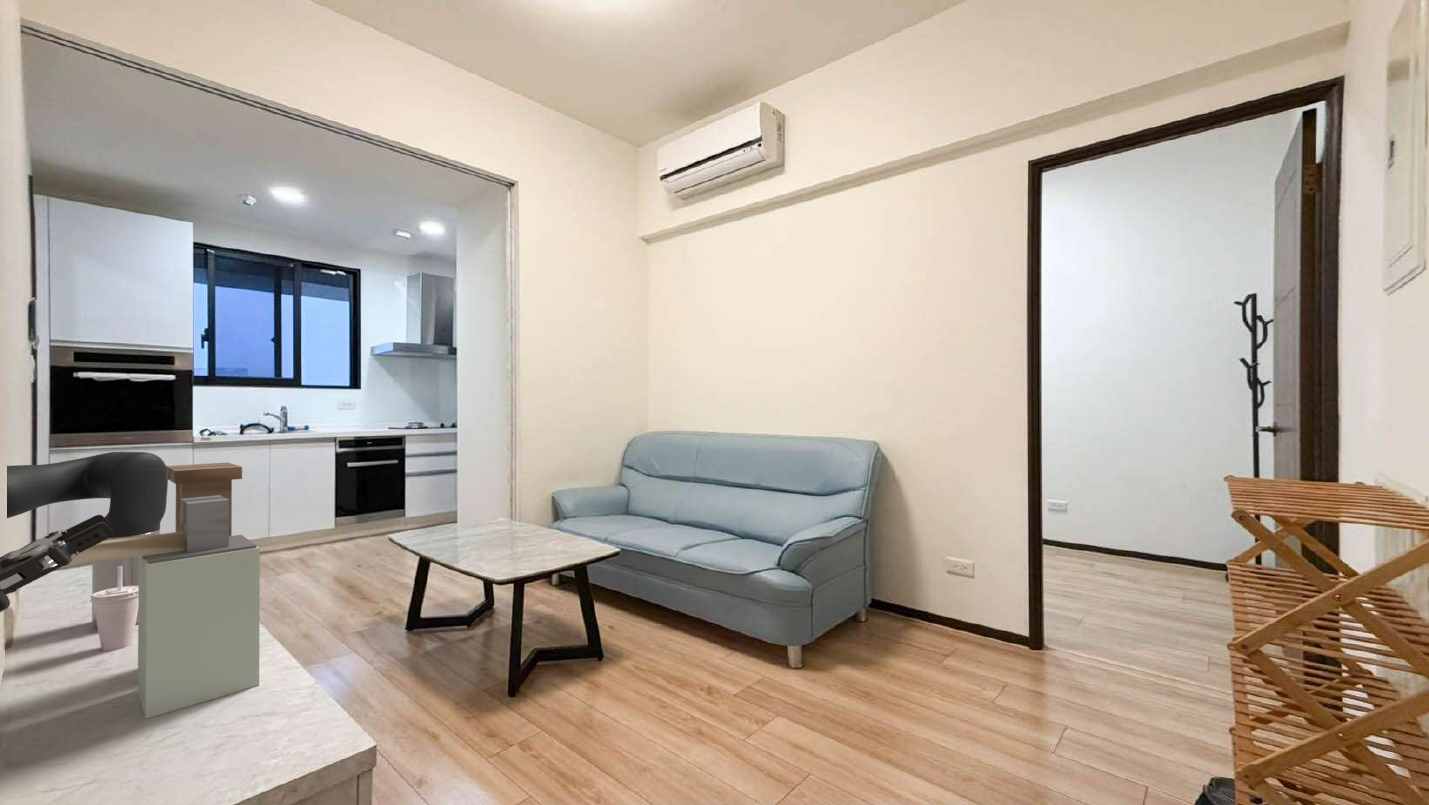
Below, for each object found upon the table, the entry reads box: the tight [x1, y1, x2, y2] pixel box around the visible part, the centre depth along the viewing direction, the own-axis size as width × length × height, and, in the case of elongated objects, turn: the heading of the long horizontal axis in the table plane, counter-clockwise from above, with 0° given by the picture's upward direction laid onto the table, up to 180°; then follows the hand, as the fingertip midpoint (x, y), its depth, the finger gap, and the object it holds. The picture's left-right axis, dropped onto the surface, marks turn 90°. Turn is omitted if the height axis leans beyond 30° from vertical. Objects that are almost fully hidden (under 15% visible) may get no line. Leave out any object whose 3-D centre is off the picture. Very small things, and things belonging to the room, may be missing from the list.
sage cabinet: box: [137, 534, 261, 719], centre depth 84 cm, size 12×12×21 cm
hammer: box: [59, 495, 229, 569], centre depth 79 cm, size 7×17×7 cm, turn 140°
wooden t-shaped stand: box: [166, 462, 243, 536], centre depth 94 cm, size 12×8×32 cm, turn 49°
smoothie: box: [90, 566, 139, 652], centre depth 98 cm, size 6×6×14 cm
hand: (107, 523), depth 77 cm, fingers open, 8 cm apart
